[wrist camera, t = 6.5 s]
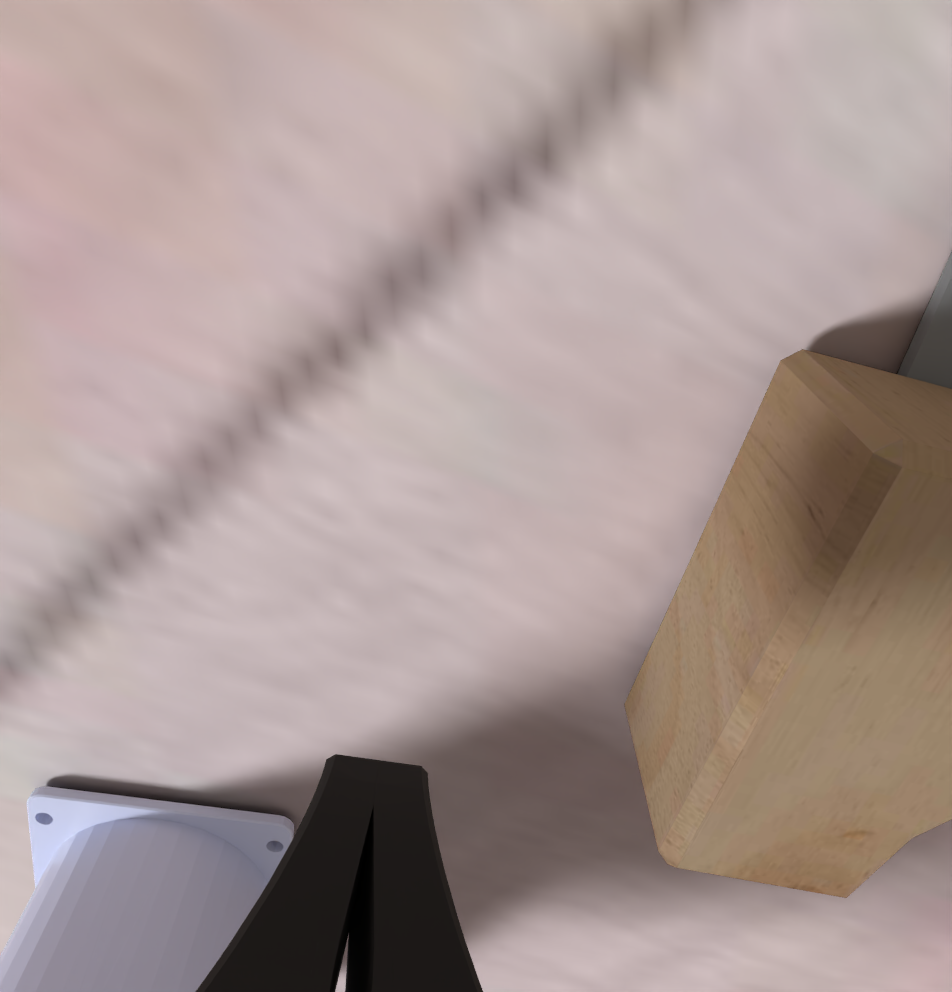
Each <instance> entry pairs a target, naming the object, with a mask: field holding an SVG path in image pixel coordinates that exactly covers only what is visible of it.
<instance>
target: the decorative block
mask: <svg viewBox="0 0 952 992" xmlns="http://www.w3.org/2000/svg"><path fill="white" fill-rule="evenodd" d="M624 705H625V710H626V714H627V718H628V723H629V727H630V731H631V736H632V740H633V744H634V748H635V753H636V757H637V761H638V766H639V770H640V774H641V779H642V783H643V787H644V792H645V796H646V800H647V805H648V809H649V813H650V817H651V822H652V826H653V830H654V835H655V839H656V843H657V848H658V852H659V853H660V854H661V856H662V857H663V859H664V860H665V861H666V863H667V864H668V865H671V866H673V867H676V868H681V869H686V870H692V871H698V872H703V873H709V874H715V875H720V876H726V877H732V878H737V879H743V880H748V881H754V882H760V883H765V884H771V885H777V886H782V887H788V888H793V889H799V890H805V891H810V892H816V893H822V894H827V895H833V896H839V897H844V898H847V897H848V896H849V895H850V894H851V893H852V892H853V891H854V890H856V889H857V888H858V887H859V886H860V885H861V884H862V883H863V882H864V881H865V880H866V879H868V878H869V877H870V876H871V875H872V874H873V873H874V872H875V871H876V870H877V869H879V868H880V867H881V866H882V865H883V864H884V863H885V862H886V861H887V860H888V859H890V858H891V857H892V856H893V855H894V854H895V853H896V852H897V851H898V850H899V849H901V848H902V847H903V846H904V845H905V844H906V843H907V842H908V841H909V840H910V839H912V838H914V837H916V836H918V835H920V834H922V833H924V832H926V831H928V830H931V829H933V828H935V827H937V826H939V825H941V824H943V823H945V822H947V821H950V820H952V389H950V388H946V387H943V386H939V385H935V384H931V383H928V382H924V381H920V380H916V379H913V378H909V377H905V376H901V375H898V374H894V373H890V372H886V371H882V370H879V369H875V368H871V367H867V366H864V365H860V364H856V363H852V362H849V361H845V360H841V359H837V358H834V357H830V356H826V355H822V354H818V353H815V352H811V351H807V350H803V349H802V350H800V351H798V352H796V353H794V354H793V355H791V356H789V357H787V358H785V359H783V360H781V361H780V363H779V365H778V367H777V370H776V372H775V374H774V376H773V379H772V381H771V383H770V385H769V387H768V390H767V392H766V394H765V396H764V398H763V401H762V403H761V405H760V407H759V410H758V412H757V414H756V416H755V418H754V421H753V423H752V425H751V427H750V429H749V432H748V434H747V436H746V438H745V440H744V443H743V445H742V447H741V449H740V452H739V454H738V456H737V458H736V460H735V463H734V465H733V467H732V469H731V471H730V474H729V476H728V478H727V480H726V483H725V485H724V487H723V489H722V491H721V494H720V496H719V498H718V500H717V502H716V505H715V507H714V509H713V511H712V514H711V516H710V518H709V520H708V522H707V525H706V527H705V529H704V531H703V533H702V536H701V538H700V540H699V542H698V544H697V547H696V549H695V551H694V553H693V556H692V558H691V560H690V562H689V564H688V566H687V569H686V571H685V573H684V575H683V577H682V580H681V582H680V584H679V586H678V588H677V590H676V593H675V595H674V597H673V599H672V601H671V604H670V606H669V608H668V610H667V612H666V615H665V617H664V619H663V621H662V623H661V625H660V628H659V630H658V632H657V634H656V636H655V639H654V641H653V643H652V645H651V647H650V649H649V652H648V654H647V656H646V658H645V660H644V663H643V665H642V667H641V669H640V671H639V673H638V676H637V678H636V680H635V682H634V684H633V687H632V689H631V691H630V693H629V695H628V698H627V700H626V702H625V704H624Z"/></svg>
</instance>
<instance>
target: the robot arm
mask: <svg viewBox="0 0 952 992" xmlns="http://www.w3.org/2000/svg"><path fill="white" fill-rule="evenodd" d="M27 811H28V821H29V830H30V840H31V850H32V860H33V869H34V879H35V890H34V892H33V894H32V896H31V898H30V900H29V902H28V904H27V905H26V907H25V909H24V911H23V913H22V915H21V917H20V919H19V921H18V923H17V925H16V926H15V928H14V930H13V932H12V934H11V936H10V938H9V940H8V942H7V944H6V946H5V947H4V949H3V951H2V953H1V955H0V992H335V989H336V985H337V981H338V977H339V972H340V968H341V964H342V959H343V955H344V951H345V947H346V942H347V938H348V934H349V940H348V957H347V974H346V990H345V992H483V990H482V988H481V985H480V982H479V980H478V977H477V974H476V971H475V968H474V965H473V962H472V959H471V957H470V954H469V951H468V948H467V945H466V942H465V939H464V936H463V933H462V929H461V926H460V923H459V920H458V917H457V913H456V910H455V906H454V903H453V899H452V896H451V892H450V888H449V885H448V881H447V878H446V874H445V870H444V866H443V862H442V858H441V854H440V850H439V845H438V840H437V836H436V831H435V826H434V821H433V816H432V810H431V803H430V796H429V787H428V773H427V772H426V771H425V770H424V769H423V768H422V766H416V765H409V764H402V763H394V762H387V761H380V760H373V759H365V758H358V757H351V756H344V755H334V756H332V757H330V758H328V759H327V760H326V764H325V767H324V770H323V774H322V777H321V779H320V782H319V784H318V787H317V789H316V792H315V794H314V797H313V799H312V801H311V803H310V806H309V808H308V810H307V812H306V814H305V816H304V818H303V820H302V822H301V824H300V826H299V828H298V830H297V832H296V834H295V836H294V838H293V835H294V824H293V823H292V821H291V820H290V819H288V818H287V817H285V816H281V815H274V814H266V813H258V812H250V811H242V810H234V809H226V808H218V807H210V806H202V805H193V804H185V803H177V802H169V801H161V800H153V799H145V798H137V797H129V796H121V795H113V794H105V793H97V792H88V791H80V790H72V789H64V788H56V787H39V788H36V789H35V790H34V791H33V792H32V793H31V795H30V797H29V798H28V800H27Z"/></svg>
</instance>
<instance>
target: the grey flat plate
mask: <svg viewBox="0 0 952 992" xmlns="http://www.w3.org/2000/svg"><path fill="white" fill-rule="evenodd" d="M897 374H898V375H901V376H905V377H909V378H913V379H916V380H920V381H924V382H928V383H931V384H935V385H939V386H943V387H946V388H950V389H952V252H951V255H950V257H949V259H948V261H947V263H946V266H945V268H944V270H943V272H942V275H941V277H940V279H939V281H938V284H937V286H936V288H935V290H934V293H933V295H932V297H931V299H930V301H929V304H928V306H927V308H926V310H925V313H924V315H923V317H922V319H921V322H920V324H919V326H918V328H917V331H916V333H915V335H914V337H913V339H912V342H911V344H910V346H909V348H908V351H907V353H906V355H905V357H904V360H903V362H902V364H901V366H900V369H899V371H898V373H897Z"/></svg>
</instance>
